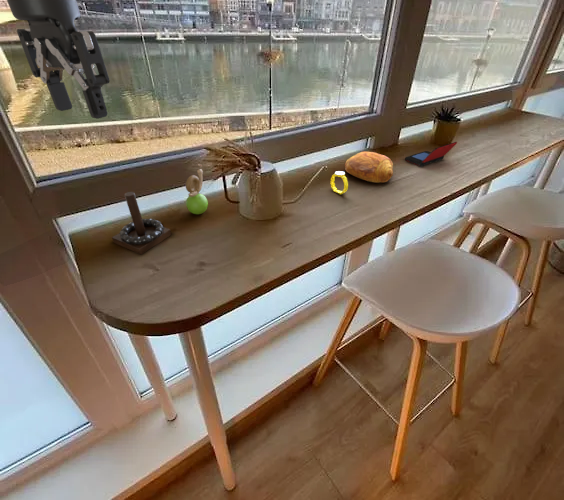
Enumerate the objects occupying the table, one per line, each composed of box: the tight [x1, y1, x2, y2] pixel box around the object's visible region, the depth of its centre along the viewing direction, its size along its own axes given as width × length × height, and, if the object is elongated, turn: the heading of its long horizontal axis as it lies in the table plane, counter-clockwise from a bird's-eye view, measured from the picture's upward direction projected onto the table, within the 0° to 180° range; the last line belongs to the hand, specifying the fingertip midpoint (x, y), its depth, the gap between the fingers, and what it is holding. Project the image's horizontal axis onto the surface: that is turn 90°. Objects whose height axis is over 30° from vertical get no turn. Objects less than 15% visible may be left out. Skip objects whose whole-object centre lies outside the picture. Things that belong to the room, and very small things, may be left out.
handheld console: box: [404, 141, 458, 167], centre depth 111 cm, size 12×11×7 cm
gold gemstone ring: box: [329, 170, 349, 195], centre depth 92 cm, size 6×3×6 cm, turn 35°
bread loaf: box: [344, 150, 394, 183], centre depth 102 cm, size 14×16×8 cm
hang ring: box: [119, 218, 165, 244], centre depth 73 cm, size 9×9×2 cm
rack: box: [111, 191, 172, 255], centre depth 72 cm, size 9×9×12 cm
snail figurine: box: [185, 163, 209, 215], centre depth 81 cm, size 5×6×12 cm
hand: (82, 113), depth 49 cm, fingers open, 8 cm apart
